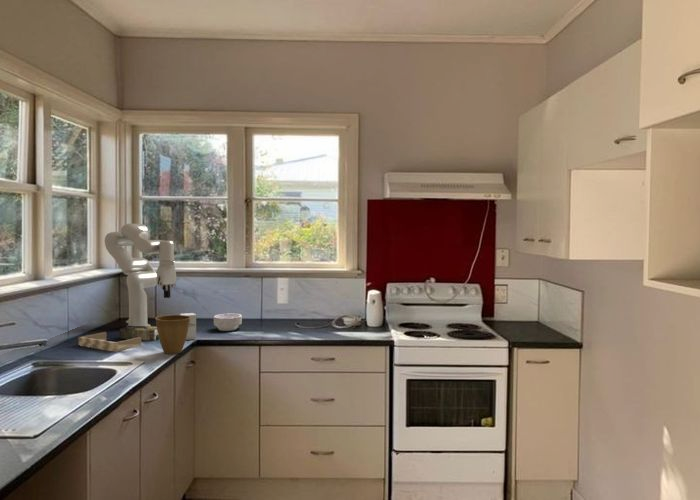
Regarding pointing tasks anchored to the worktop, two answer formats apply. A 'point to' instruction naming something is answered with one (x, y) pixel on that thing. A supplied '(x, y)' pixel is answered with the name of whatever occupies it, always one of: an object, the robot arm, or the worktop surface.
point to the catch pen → (107, 342)
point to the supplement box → (191, 326)
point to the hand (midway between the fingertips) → (167, 297)
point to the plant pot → (172, 332)
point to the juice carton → (139, 332)
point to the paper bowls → (227, 321)
